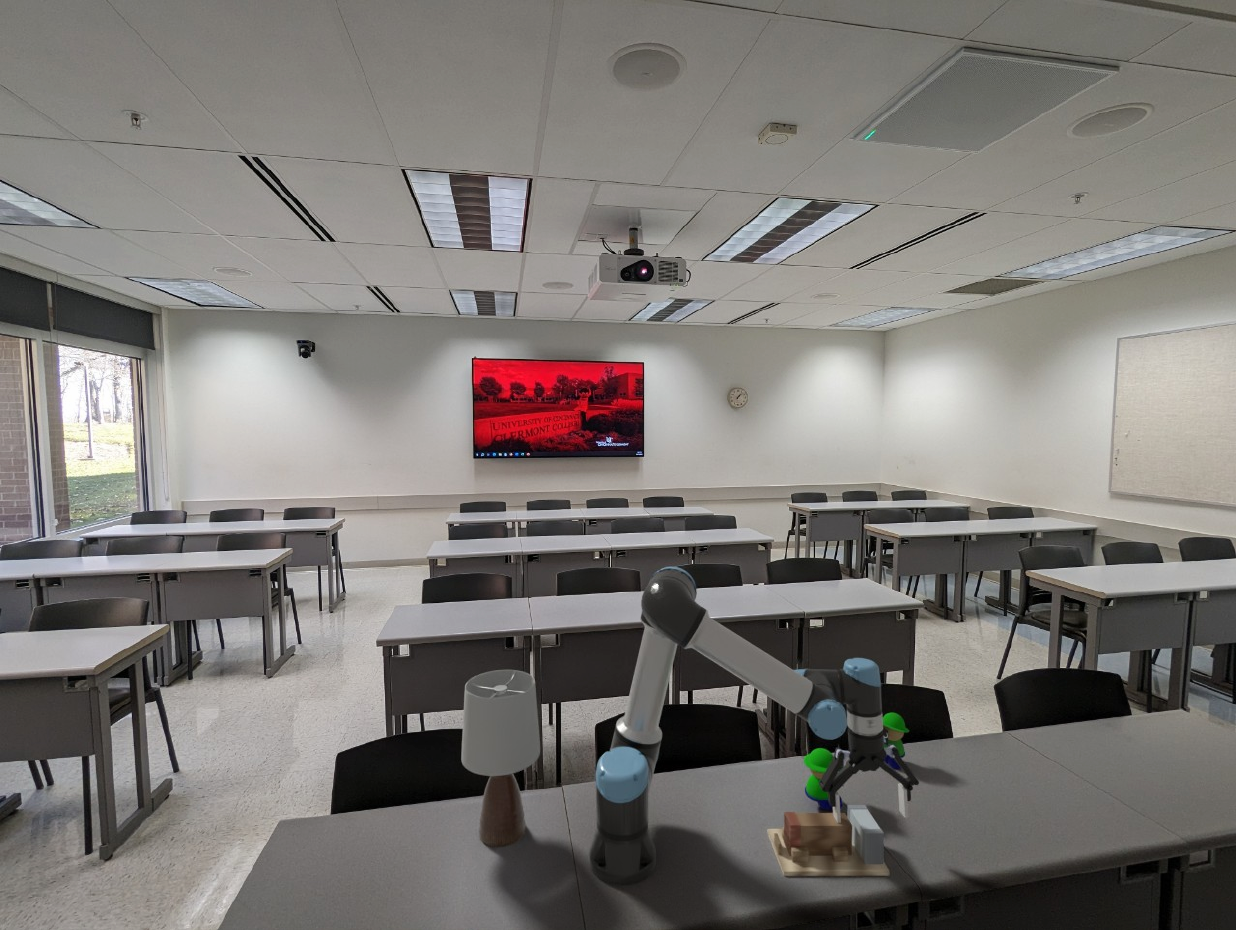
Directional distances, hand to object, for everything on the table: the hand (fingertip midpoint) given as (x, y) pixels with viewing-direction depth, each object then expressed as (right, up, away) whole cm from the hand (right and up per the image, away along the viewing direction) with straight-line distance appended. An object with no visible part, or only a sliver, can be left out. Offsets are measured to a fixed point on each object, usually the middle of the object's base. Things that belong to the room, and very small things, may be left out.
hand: (870, 820), depth 136 cm
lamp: (-86, -8, +8) cm, 87 cm away
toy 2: (+22, -6, +38) cm, 44 cm away
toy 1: (-5, -7, +18) cm, 20 cm away
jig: (-10, -8, 0) cm, 13 cm away
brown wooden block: (-12, -7, 0) cm, 14 cm away
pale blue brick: (-1, -7, 0) cm, 7 cm away
